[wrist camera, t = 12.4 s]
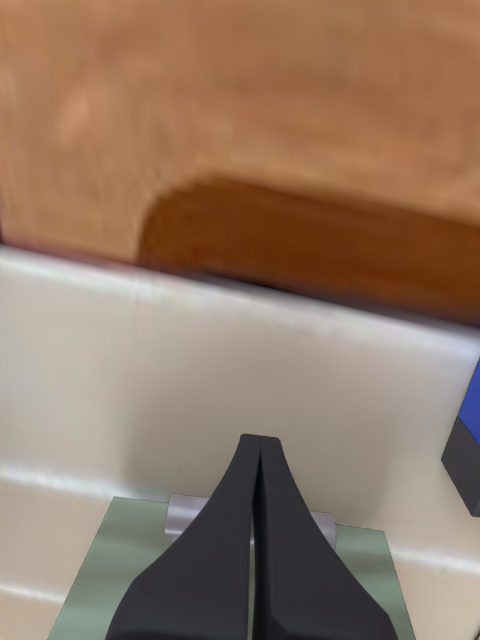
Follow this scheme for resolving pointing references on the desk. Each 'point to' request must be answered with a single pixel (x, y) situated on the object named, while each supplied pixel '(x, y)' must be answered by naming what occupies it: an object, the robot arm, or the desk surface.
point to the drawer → (165, 527)
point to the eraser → (466, 448)
